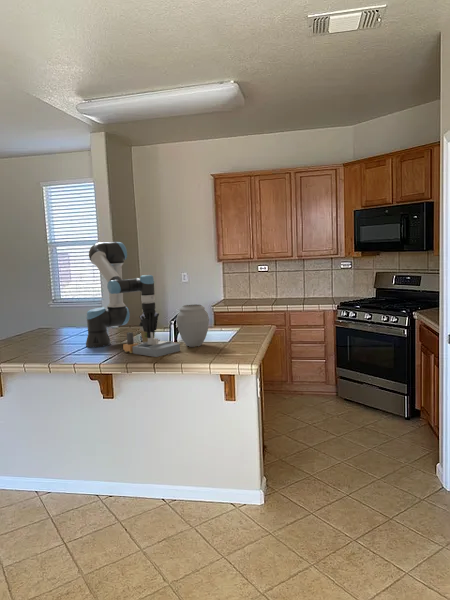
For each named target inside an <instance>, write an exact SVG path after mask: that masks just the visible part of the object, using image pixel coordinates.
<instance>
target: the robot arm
mask: <svg viewBox="0 0 450 600" xmlns="http://www.w3.org/2000/svg"><path fill="white" fill-rule="evenodd" d="M88 258H89V261H90V262H91V264H93V265H94V266H95V267H96V268H97V269H98V271H100V273H101V275H102V276H103V278H104V279H105V281H106V282H107V290H108V296H109V303H108V305H107V307H104V306H103V307H102V306H101V307H95V308H91V309H89V310H88V311H87V312H86V323H87V337H86V342H85V346H87V348H101V347H108V346H110V345H111V343H112V341H111V338H110V337H109V334H108V330H107V329H108V328H112V327H121V326H124V325H127V324H128V323H129V320H130V313H131V312H130V310H129V308H128V307H127V305H126V303H124V294H125V293H135V292H140V295H141V296H140V297H141V298H140V299H141V309H142V314H141V315H139V317H138V318H139V319H140V322H142V326H143V330H144V332H147V338H148V343H149V344H153V343H154V342H153V337H154V338H155V336H154V332H155V333H156V331H157V327H158V321H159V320H158V319H159V315H160V313H159V312H157V311H156V303H155V302H156V298H155V297H156V296H155V294H156V293H155V280H154V275H152V274H144V275H143V274H142V275H141V276H139V277H135V278H128V279H123V268H122V266H123V265H124V264H125V261H126V260H127V258H128V249H127V248H126V246H125V244H124V243H123V242H122V241H121V242H120V241H107V242H106V241H104V242H100V241H99V242H95V244H93V245H92V246H91V247H90V249H89V252H88ZM107 345H108V346H107Z"/></svg>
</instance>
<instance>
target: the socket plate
mask: <svg viewBox="0 0 450 600" xmlns="http://www.w3.org/2000/svg"><path fill="white" fill-rule="evenodd" d="M158 341H161V339H158ZM147 343H148V342H147ZM147 343H143V342H142V343H140V344H139V343H138V345H136V346H132V348H133V353H132V354H135V355H141V356H146V357H147V356H149V357H154V358H158V357H162V356H165V355H170V354H173V353H177V352H180V351H181V344H180V343H175V342H172V340H169V341H164V343H160V344H156V345H148V344H147Z"/></svg>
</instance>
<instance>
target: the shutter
mask: <svg viewBox="0 0 450 600" xmlns="http://www.w3.org/2000/svg"><path fill="white" fill-rule="evenodd" d="M158 340H159V338H155V337H154V338H153V342H154V343H153V344H149V343H147V344H148V345H156V344H160V343H164V342H165V341H163V340H160V341H158Z"/></svg>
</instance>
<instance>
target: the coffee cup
mask: <svg viewBox="0 0 450 600" xmlns="http://www.w3.org/2000/svg"><path fill="white" fill-rule="evenodd" d="M138 326H139V330H140V336H141V342H142V343H147V342H148V338H147V332H144V330H143V326H142V322H141V321H140V322H139V324H138ZM155 333H156V331H155V332H154V337H153V338H155V337H156V336H155Z"/></svg>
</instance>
